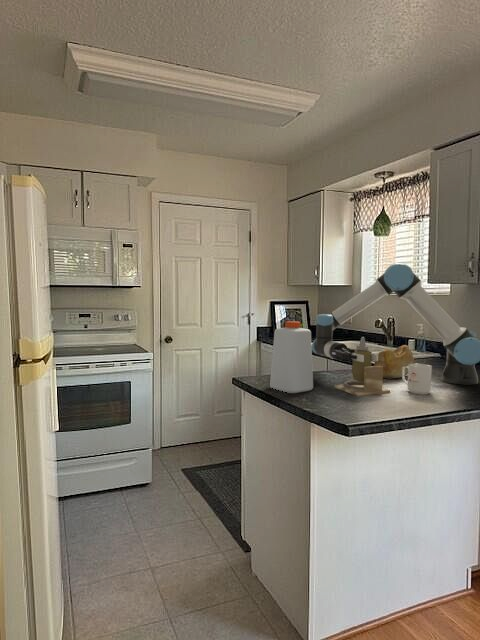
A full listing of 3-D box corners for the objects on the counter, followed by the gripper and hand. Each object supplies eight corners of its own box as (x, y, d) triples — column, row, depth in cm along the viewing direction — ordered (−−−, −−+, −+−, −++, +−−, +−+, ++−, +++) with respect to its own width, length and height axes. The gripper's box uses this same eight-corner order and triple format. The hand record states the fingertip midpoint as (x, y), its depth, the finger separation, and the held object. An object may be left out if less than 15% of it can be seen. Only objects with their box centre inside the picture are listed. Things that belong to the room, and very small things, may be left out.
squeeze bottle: (360, 383, 180) (362, 338, 178) (347, 379, 187) (348, 336, 186) (375, 381, 183) (377, 337, 182) (361, 377, 191) (363, 335, 189)
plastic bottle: (265, 387, 187) (266, 321, 185) (291, 383, 196) (293, 320, 194) (290, 395, 175) (292, 323, 173) (317, 390, 184) (319, 322, 182)
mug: (434, 392, 182) (436, 365, 182) (424, 395, 177) (425, 368, 176) (407, 387, 192) (408, 361, 191) (396, 390, 186) (397, 363, 185)
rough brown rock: (390, 372, 231) (388, 343, 231) (419, 374, 218) (418, 344, 218) (361, 378, 218) (359, 348, 217) (391, 381, 204) (389, 349, 204)
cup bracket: (333, 387, 190) (334, 361, 189) (364, 384, 196) (365, 359, 195) (357, 395, 175) (358, 368, 174) (390, 392, 181) (391, 365, 180)
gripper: (353, 357, 205) (388, 366, 184) (317, 359, 197) (350, 368, 176) (354, 341, 204) (389, 348, 183) (318, 342, 197) (350, 349, 176)
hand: (370, 358), depth 180 cm, fingers closed on squeeze bottle, 6 cm apart
